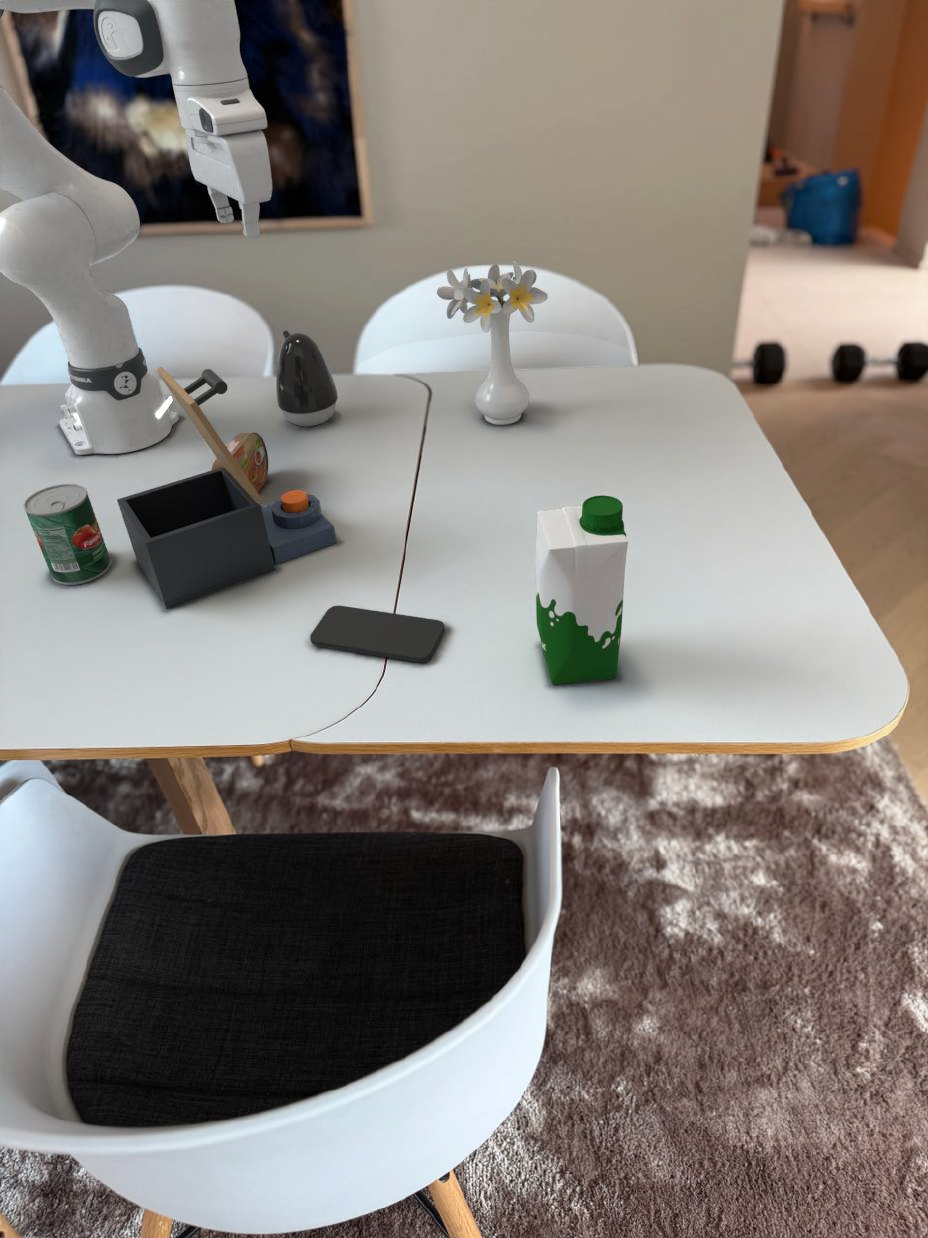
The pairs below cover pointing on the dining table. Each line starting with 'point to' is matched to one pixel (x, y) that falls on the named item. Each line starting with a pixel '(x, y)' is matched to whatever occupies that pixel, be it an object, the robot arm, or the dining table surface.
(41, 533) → the canned tomato
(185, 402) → the lid
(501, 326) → the flower vase
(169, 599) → the dark grey bin
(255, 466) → the tin
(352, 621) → the phone
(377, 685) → the dining table surface
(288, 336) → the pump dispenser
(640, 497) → the dining table surface
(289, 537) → the panel
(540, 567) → the milk carton
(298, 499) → the release button
